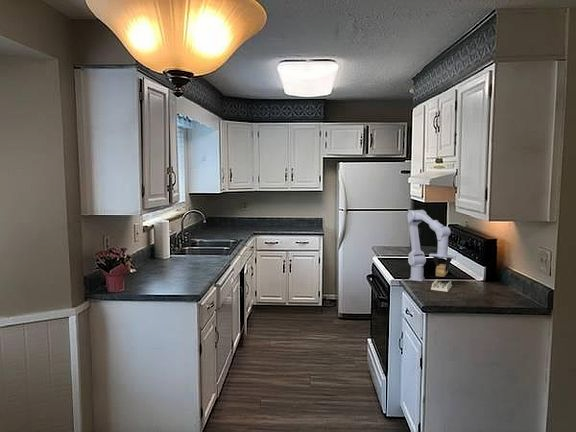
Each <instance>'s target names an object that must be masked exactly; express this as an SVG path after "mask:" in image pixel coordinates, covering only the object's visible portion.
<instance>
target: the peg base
mask: <svg viewBox="0 0 576 432" xmlns="http://www.w3.org/2000/svg"><path fill="white" fill-rule="evenodd" d="M452 287H453V284H452V280H449V281H448V282H446V281H444V283H442V281H439V279H438V278H437V279H435V281H433V282H432V283H431V287H430V290H431V291H437V292H438V291H439V292H440V291H441V292H446V293H447V292H449V290H450V289H451V288H452Z"/></svg>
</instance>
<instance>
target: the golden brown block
mask: <svg viewBox="0 0 576 432" xmlns="http://www.w3.org/2000/svg"><path fill="white" fill-rule="evenodd" d="M448 272H449V270H448V271H446V263H438V266H437V267H436V266H435V276H436V277H446V275H447V274H448Z"/></svg>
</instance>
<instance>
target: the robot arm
mask: <svg viewBox="0 0 576 432" xmlns="http://www.w3.org/2000/svg"><path fill="white" fill-rule="evenodd" d="M406 216H407V224H408V230H409V231H408V232H409V236H410V237H409V238H410V239H409V240H410V245H411V246H410V247H411V251H410V252H409V253H408V260H407V262H408V264H409V266H410V277H409V278H408V281H416V282H422V281H423V280H425V277H424V265H425V264H426V262H427V258H426V256H425V253H424V251H422V250H421V242H420V236H419V235H420V233H419V227H418V225H419V224H420V223H422V221H423V222H424V223H426V224H428V226H429V228H430V230H432V231H433V232H435V234H436V235H435V236H436V240H437V251H436V253H429V254H428V255H429V256H428V257H429V258H432V260H433V262H434V265H435V268H436V267H437V266H438V265H439V264H440V263H439V262H440V259H445V264H446V271H448V272H449V266H450V264H451V261H452V260H456V259H457V258H456V257H457V256H456V255H453V254H452V255H450V254H449V251H448V250H449V237H450V236H451V234H452V231H451V228H450V227H449V226H444V224H442V223H440V222H439V220H438V219H433V218H431V217H430V215H428V214H427V211H425V209H416V210H415V209H411V210H409V211H408V213H407V214H406Z"/></svg>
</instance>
